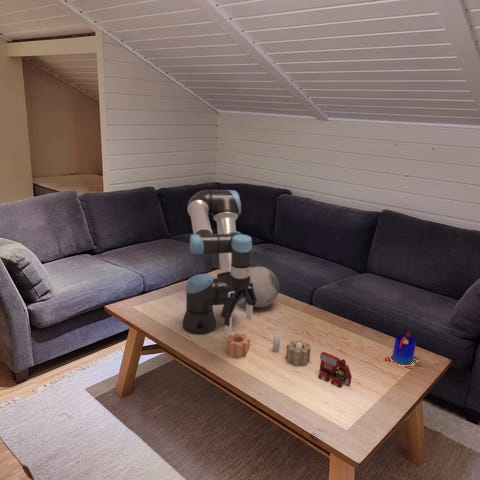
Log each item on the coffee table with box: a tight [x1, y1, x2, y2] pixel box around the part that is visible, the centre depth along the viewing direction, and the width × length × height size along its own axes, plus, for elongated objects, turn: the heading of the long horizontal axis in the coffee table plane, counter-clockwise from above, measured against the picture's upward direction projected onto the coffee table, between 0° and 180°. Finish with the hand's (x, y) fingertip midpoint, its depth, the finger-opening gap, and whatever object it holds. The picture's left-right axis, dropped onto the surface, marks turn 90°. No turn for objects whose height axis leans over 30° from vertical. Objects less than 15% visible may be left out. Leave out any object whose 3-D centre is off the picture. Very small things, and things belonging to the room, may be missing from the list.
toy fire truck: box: [317, 351, 352, 389], centre depth 160 cm, size 7×12×10 cm, turn 51°
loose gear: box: [225, 332, 251, 360], centre depth 177 cm, size 9×9×6 cm
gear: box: [285, 339, 312, 367], centre depth 171 cm, size 9×9×6 cm
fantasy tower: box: [383, 332, 419, 369], centre depth 175 cm, size 12×12×12 cm
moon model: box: [244, 266, 280, 309], centre depth 216 cm, size 20×20×20 cm
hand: (238, 325), depth 174 cm, fingers open, 13 cm apart
